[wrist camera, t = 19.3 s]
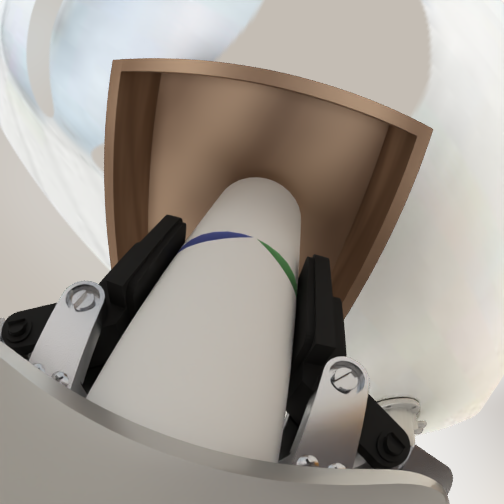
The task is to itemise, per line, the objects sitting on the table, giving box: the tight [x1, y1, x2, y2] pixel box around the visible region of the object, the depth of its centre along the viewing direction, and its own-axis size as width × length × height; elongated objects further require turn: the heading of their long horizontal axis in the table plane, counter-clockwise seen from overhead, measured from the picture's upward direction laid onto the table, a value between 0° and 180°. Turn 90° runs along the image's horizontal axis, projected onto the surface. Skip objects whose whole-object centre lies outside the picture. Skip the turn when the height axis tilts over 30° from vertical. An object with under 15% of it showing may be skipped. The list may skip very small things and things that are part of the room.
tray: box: [104, 58, 433, 319], centre depth 16 cm, size 14×14×9 cm
